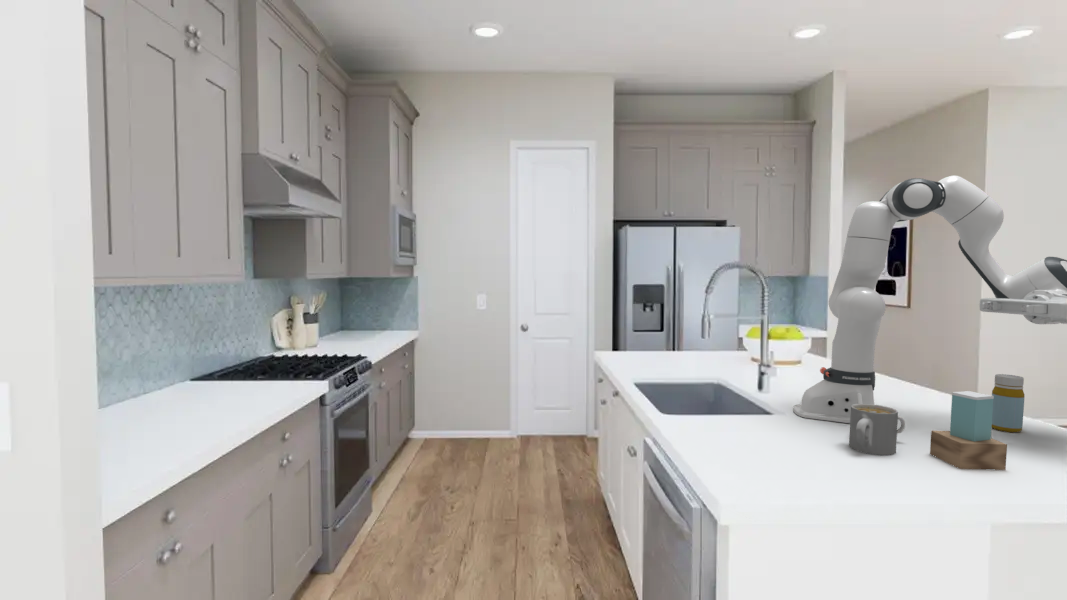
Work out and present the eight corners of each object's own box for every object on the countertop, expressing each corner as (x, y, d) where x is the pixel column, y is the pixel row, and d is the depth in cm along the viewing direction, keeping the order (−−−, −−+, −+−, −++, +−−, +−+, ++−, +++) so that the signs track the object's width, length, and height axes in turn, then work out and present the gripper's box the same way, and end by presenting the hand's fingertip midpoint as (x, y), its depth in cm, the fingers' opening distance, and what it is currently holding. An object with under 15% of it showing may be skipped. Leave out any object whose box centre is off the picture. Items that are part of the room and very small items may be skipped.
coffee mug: (864, 440, 148) (866, 402, 148) (904, 451, 140) (906, 411, 139) (831, 447, 142) (833, 407, 141) (871, 459, 133) (873, 417, 133)
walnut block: (959, 469, 128) (961, 443, 128) (929, 455, 138) (931, 430, 138) (1005, 471, 128) (1007, 444, 127) (972, 456, 138) (973, 431, 137)
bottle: (1010, 426, 164) (1014, 374, 163) (1028, 433, 157) (1032, 379, 156) (983, 425, 165) (987, 373, 164) (1000, 432, 158) (1004, 378, 157)
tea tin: (973, 441, 129) (976, 397, 129) (949, 434, 134) (951, 392, 134) (991, 439, 131) (993, 396, 130) (966, 432, 136) (968, 390, 136)
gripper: (1001, 292, 158) (963, 292, 154) (1092, 296, 138) (1050, 296, 134) (1000, 315, 158) (962, 316, 154) (1090, 323, 138) (1049, 323, 134)
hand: (1004, 307), depth 144 cm, fingers open, 8 cm apart
